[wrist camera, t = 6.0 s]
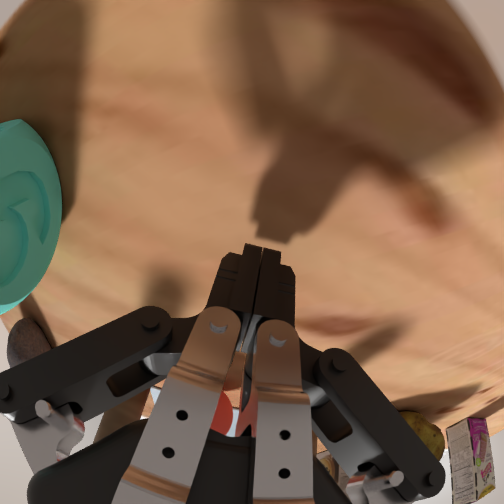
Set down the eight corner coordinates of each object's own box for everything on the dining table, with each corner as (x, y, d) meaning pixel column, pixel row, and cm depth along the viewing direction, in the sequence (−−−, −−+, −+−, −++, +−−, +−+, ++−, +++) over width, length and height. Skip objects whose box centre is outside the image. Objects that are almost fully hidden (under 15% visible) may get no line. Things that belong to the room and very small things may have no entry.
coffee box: (337, 457, 38) (333, 531, 26) (308, 455, 38) (300, 533, 25) (369, 446, 33) (368, 531, 20) (338, 445, 32) (333, 537, 19)
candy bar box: (487, 416, 29) (496, 488, 16) (466, 428, 32) (473, 497, 19) (468, 416, 27) (477, 502, 14) (444, 428, 30) (450, 511, 16)
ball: (240, 373, 22) (233, 422, 16) (232, 419, 23) (225, 465, 17) (172, 359, 22) (148, 402, 16) (171, 406, 23) (153, 449, 17)
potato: (418, 392, 20) (427, 465, 14) (444, 412, 25) (451, 464, 18) (348, 418, 25) (348, 484, 18) (391, 433, 29) (394, 482, 22)
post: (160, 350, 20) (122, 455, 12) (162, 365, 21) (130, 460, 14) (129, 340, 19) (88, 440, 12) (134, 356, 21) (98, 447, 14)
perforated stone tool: (16, 295, 20) (-18, 344, 15) (51, 320, 21) (19, 375, 15) (39, 354, 29) (20, 390, 23) (67, 372, 30) (49, 410, 24)
